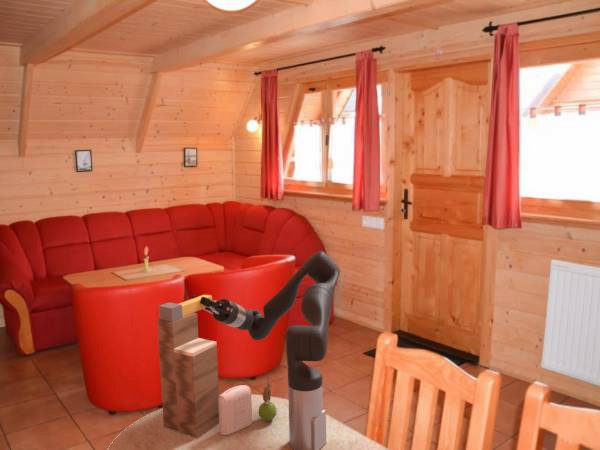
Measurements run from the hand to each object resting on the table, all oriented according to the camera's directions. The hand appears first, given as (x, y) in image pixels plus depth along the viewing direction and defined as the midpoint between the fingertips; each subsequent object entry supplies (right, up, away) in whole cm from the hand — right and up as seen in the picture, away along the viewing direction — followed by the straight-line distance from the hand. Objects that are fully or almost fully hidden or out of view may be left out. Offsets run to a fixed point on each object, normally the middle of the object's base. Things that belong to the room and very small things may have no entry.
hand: (197, 299), depth 164 cm
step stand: (0, -36, -4) cm, 37 cm away
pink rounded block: (+12, -37, -6) cm, 39 cm away
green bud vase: (+21, -36, -1) cm, 42 cm away
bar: (-2, -3, -3) cm, 5 cm away
